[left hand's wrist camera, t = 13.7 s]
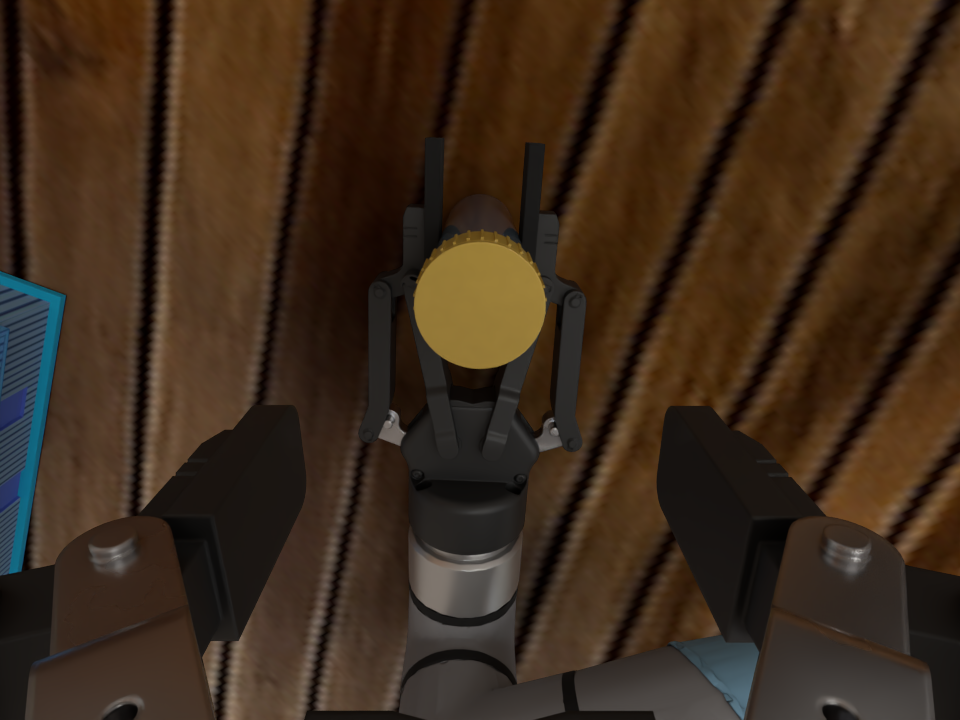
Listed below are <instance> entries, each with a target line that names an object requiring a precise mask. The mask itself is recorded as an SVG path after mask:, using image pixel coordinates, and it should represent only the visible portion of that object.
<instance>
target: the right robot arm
mask: <svg viewBox="0 0 960 720" xmlns="http://www.w3.org/2000/svg"><path fill="white" fill-rule="evenodd" d="M544 152H545V144H541V143H527V142H526V144H525V157H524V171H523V184H522V198H521V212H520V225H519V238H520V241H521V244H522V247H523V249H524V251H525V252H526V253H527V252H529V253H530V256H531V258H532V261H533V263H536V265H537V267H538V270H539V272H540V274H541V275H540V276H541V278H542V280H543V283H544V285H545V288H543V289H544V293H545V296H546V298H547V301H546V313H547V310H548V307H549V304H550V302H553V303H555V304H557V313H556V326H555V338H554V350H553V363H552V375H551V387H550V401H551V407H552V410H549V411H547V412H546V413H545V414H544V415H543V417H542V425H541V427H540V429H538V430H537V431H535V432H534V431H533V429H532V428H531V427H530V425H529V424H528V422H527V421H526V419H525V418H524V417H523V415H522V414H521V412H520V411H519V409H518V408H517V406H518V403H519V398H520V392H521V388H522V385H523V382H524V379H525V376H526V373H527V370H528V367H529V364H530V361H531V358H532V355H533V352H534V349H535V346H536V343H537V340H538V337H539V334H540V332H539V334H538V336H537V338H536V339H535V341H534V342H533V344H532V345H531V346H530V347H529V348H528V349H527V350H526V351H525V352H524V353H523V354H522V355H520V356H519V357H517V358H516V359H514V360H513V361H511V362H508V363H506V364H504V365H501V366H500V369H499V371H498V372H497V375H496V378H495V381H494V384H493V387H485V388H479V389H474V390H472V389H468V388H465V387H461V386H453V382H452V377H451V373H450V370H449V368H448V363H447V360H446V359H444V358H442V357H441V356H439V355H438V354H437V353H436V352H435V351H434V350H433V349H432V348H431V347H430V346H429V345H428V344H427V343H426V341H425V340H424V338H423V337H422V335H421V333H420V331H419V328H418V326H417V323H416V319H415V313H414V310H413V307H414V297H413V294H414V291H415V289H416V286H417V283H416V281H417V278H418V276H419V274H420V271H421V270H422V267H423V265H424V263H425V260H426V259H429V258H430V256H431V254H432V252H433V250H434V248H435V249H437V246H438V243H439V241H440V238H441V235H442V208H443V167H444V138H431V137H429V138H425V205H422V204H410V205H409V206H408V207H407V208H406V211H405V213H404V216H403V265H402V266H401V267H400V268H398V269H395V270H392V271H385V272H381V273H380V274H379V275H378V276H377V277H376V278H375V280H374V281H373V283H372V284H371V286H370V287H369V291H368V332H369V407H368V409H367V412H366V414H365V417H364V419H363V421H362V424H361V426H360V429H359V433H358V434H359V437H360V439H361V440H362V441H364V442H367V443H371V442H374V441H376V440H377V438H380V439H383V440H386V441H388V442H391V443H394V444H396V445H399V446H400V449H401V453H402V455H403V457H404V458H405V460H406V461H407V464H408V467H409V522H410V527H409V532H408V539H409V616H408V636H407V645H406V652H405V659H404V666H403V673H402V680H401V689H400V693H401V694H400V708H399V713H402V714H406V715H410V716H414V717H418V718H422V719H425V720H535V719H538V718H542V717H546V716H550V715H554V714H558V713H562V712H565V711H653V713H654V716H655V719H656V720H744V715H745V711H746V707H747V702H748V698H749V694H750V689H751V685H752V681H753V676H754V672H755V668H756V664H757V660H758V655H759V651H758V649H757V647H756V645H755V644H754V643H726V642H725V640H724V638H723V636H722V635H718V636H713V637H707V638H701V639H696V640H690V641H684V642H677V641H673V642H670V643H668V645H667V646H665V647H662V648H658V649H654V650H651V651H647V652H643V653H640V654H636V655H633V656H629V657H625V658H622V659H618V660H614V661H611V662H607V663H603V664H600V665H596V666H593V667H589V668H585V669H582V670H578V671H577V670H576V671H570V672H566V673H562V674H557V675H553V676H549V677H545V678H541V679H537V680H533V681H529V682H525V683H520V684H517V680H516V665H515V650H514V629H515V612H516V595H517V590H518V582H519V576H520V565H521V554H522V542H523V531H522V529H523V526H524V521H525V510H526V499H527V489H528V478H529V472H530V470H531V468H532V466H533V465H534V463H535V462H536V461H537V459H538V457H539V453H540V452H543V451H546V450H550V449H553V448H557V447H560V446H563V447H564V449H565V450H567V451H570V452H574V451H577V450H579V449H580V448H581V446H582V438H581V435H580V431H579V428H578V425H577V422H576V418H575V410H576V400H577V390H578V380H579V370H580V361H581V351H582V341H583V331H584V321H585V311H586V297H585V296H584V294H583V292H582V291H581V289H580V287H579V286H578V285H577V283H576V282H574V281H571V280H566V279H564V278H561V277H559V276H558V275H556V274H555V263H556V253H557V243H558V233H559V222H558V219H557V215H556V214H555V213H554V212H553V211H540V199H541V187H542V175H543V163H544ZM404 294H405V299H406V303H407V307H408V312H409V316H410V321H411V325H412V329H413V334H414V338H415V343H416V347H417V351H418V356H419V360H420V365H421V369H422V373H423V378H424V382H425V387H426V397H427V404H426V405H425V406H424V407H423V409H422V410H421V411H420V412H419V413H418V414H417V416H416V417H415V418H414V419H413V420H412V421H411V423H410V424H409V425H408V426H407V425H405V424H404V423H403V422H402V421H401V410H400V408H399V407H398V406H397V405H396V404H395V403H392V399H393V396H394V391H395V369H396V309H397V296H401V295H404ZM545 316H546V314H545ZM544 319H545V318H544ZM540 331H541V330H540Z"/></svg>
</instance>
